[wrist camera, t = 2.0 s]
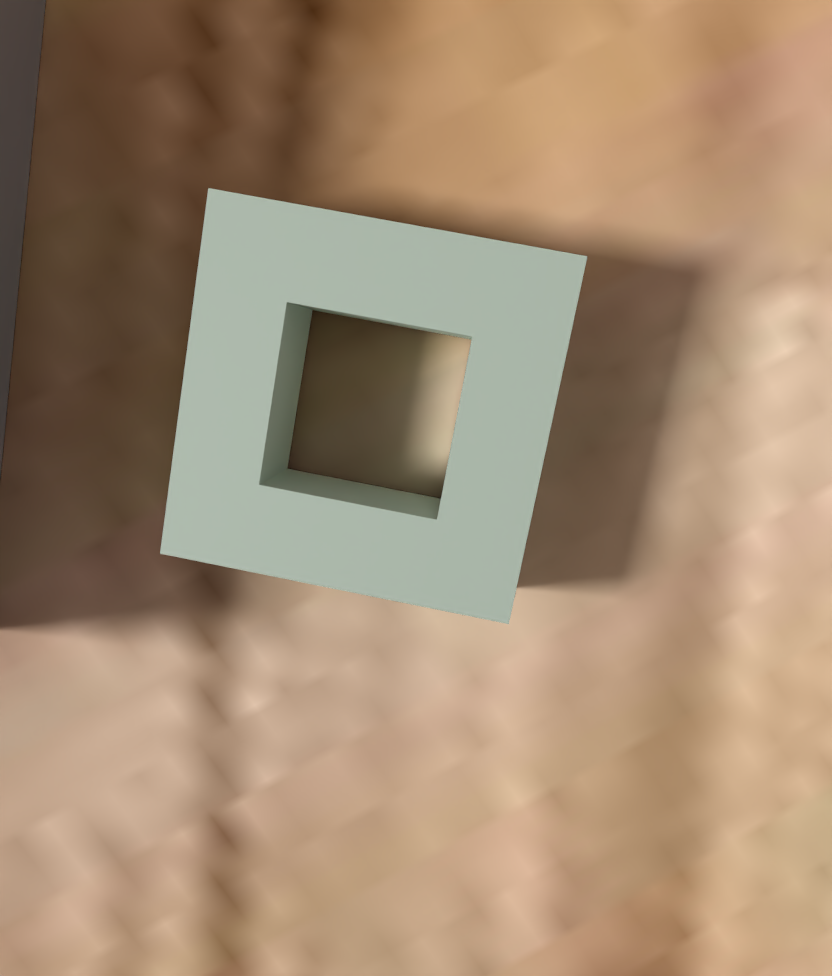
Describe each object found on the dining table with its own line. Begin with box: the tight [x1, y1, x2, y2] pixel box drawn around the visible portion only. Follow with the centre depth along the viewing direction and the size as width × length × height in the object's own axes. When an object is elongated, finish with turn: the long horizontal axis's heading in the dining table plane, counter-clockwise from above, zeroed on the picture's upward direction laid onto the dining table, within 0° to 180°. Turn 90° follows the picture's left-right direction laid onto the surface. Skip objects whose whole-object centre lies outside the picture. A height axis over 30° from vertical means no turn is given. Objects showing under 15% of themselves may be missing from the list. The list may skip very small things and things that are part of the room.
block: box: [160, 188, 587, 624], centre depth 27 cm, size 12×12×4 cm
